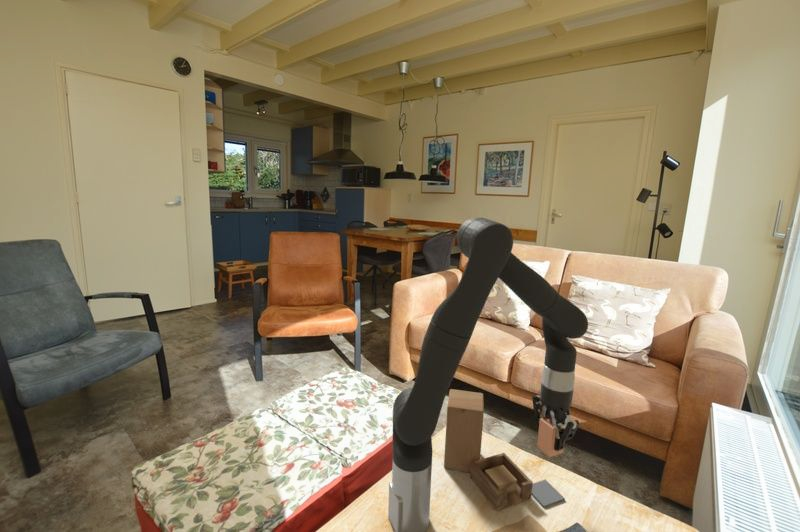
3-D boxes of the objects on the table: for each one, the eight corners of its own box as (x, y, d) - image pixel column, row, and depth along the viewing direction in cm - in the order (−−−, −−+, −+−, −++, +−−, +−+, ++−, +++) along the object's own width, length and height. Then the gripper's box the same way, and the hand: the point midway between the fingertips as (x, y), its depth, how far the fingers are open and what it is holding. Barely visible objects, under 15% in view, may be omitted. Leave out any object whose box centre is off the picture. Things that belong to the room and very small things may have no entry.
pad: (543, 507, 97) (543, 505, 96) (525, 488, 103) (525, 486, 103) (564, 500, 99) (564, 498, 99) (545, 481, 105) (545, 479, 105)
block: (563, 452, 97) (566, 425, 95) (549, 457, 95) (552, 428, 94) (550, 442, 101) (553, 415, 100) (537, 446, 99) (539, 418, 98)
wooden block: (478, 474, 107) (483, 411, 103) (443, 468, 109) (447, 406, 105) (478, 451, 117) (483, 392, 113) (446, 446, 119) (449, 388, 115)
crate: (496, 510, 95) (497, 493, 94) (470, 477, 106) (471, 461, 105) (530, 498, 99) (532, 482, 98) (502, 467, 110) (504, 452, 109)
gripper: (592, 394, 89) (583, 458, 93) (548, 368, 102) (542, 424, 106) (568, 400, 87) (560, 465, 90) (526, 372, 100) (520, 430, 103)
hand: (550, 443), depth 98 cm, fingers closed on block, 4 cm apart
